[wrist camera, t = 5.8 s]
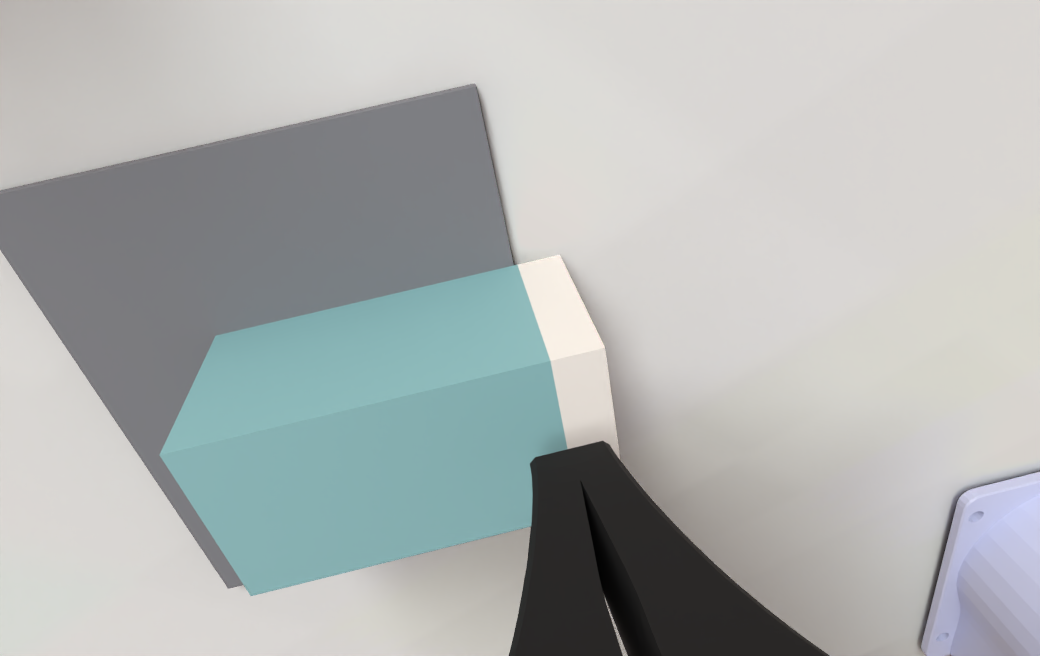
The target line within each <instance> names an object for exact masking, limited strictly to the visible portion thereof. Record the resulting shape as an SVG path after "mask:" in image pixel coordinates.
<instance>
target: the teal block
mask: <svg viewBox="0 0 1040 656" xmlns="http://www.w3.org/2000/svg"><path fill="white" fill-rule="evenodd" d="M599 441H604V442H606V443H608V444H610V446H611V448H612V449H613V451H614V452H615V454H616V455H617V457H618V458H619V459H620V453H619V446H618V438H617V431H616V424H615V416H614V409H613V402H612V394H611V387H610V380H609V373H608V365H607V358H606V351H605V346H604V344H603V342H602V340H601V338H600V336H599V334H598V332H597V330H596V328H595V326H594V324H593V322H592V320H591V318H590V316H589V314H588V312H587V310H586V308H585V305H584V303H583V301H582V299H581V297H580V295H579V293H578V291H577V289H576V287H575V285H574V283H573V281H572V279H571V277H570V275H569V273H568V271H567V269H566V266H565V264H564V262H563V260H562V258H561V256H560V255H556V256H552V257H548V258H543V259H539V260H535V261H531V262H526V263H522V264H518V265H514V266H509V267H505V268H501V269H497V270H492V271H488V272H484V273H480V274H475V275H471V276H467V277H463V278H458V279H454V280H450V281H446V282H441V283H437V284H433V285H429V286H424V287H420V288H416V289H412V290H407V291H403V292H399V293H395V294H390V295H386V296H382V297H378V298H374V299H369V300H365V301H361V302H357V303H352V304H348V305H344V306H340V307H335V308H331V309H327V310H323V311H318V312H314V313H310V314H306V315H301V316H297V317H293V318H289V319H284V320H280V321H276V322H272V323H267V324H263V325H259V326H255V327H250V328H246V329H242V330H238V331H233V332H229V333H225V334H221V335H216V336H215V338H214V340H213V342H212V344H211V347H210V349H209V351H208V353H207V355H206V357H205V359H204V361H203V364H202V366H201V368H200V370H199V372H198V374H197V376H196V378H195V381H194V383H193V385H192V387H191V389H190V391H189V393H188V395H187V397H186V400H185V402H184V404H183V406H182V408H181V410H180V412H179V414H178V417H177V419H176V421H175V423H174V425H173V427H172V429H171V431H170V434H169V436H168V438H167V440H166V442H165V444H164V446H163V448H162V451H161V453H160V457H161V458H162V460H163V461H164V463H165V464H166V466H167V468H168V469H169V471H170V472H171V474H172V475H173V477H174V478H175V480H176V481H177V483H178V485H179V486H180V488H181V489H182V491H183V492H184V494H185V495H186V497H187V498H188V500H189V501H190V503H191V505H192V506H193V508H194V509H195V511H196V512H197V514H198V515H199V517H200V518H201V520H202V521H203V523H204V525H205V526H206V528H207V529H208V531H209V532H210V534H211V535H212V537H213V538H214V540H215V542H216V543H217V545H218V546H219V548H220V549H221V551H222V552H223V554H224V555H225V557H226V558H227V560H228V562H229V563H230V565H231V566H232V568H233V569H234V571H235V572H236V574H237V575H238V577H239V578H240V580H241V582H242V583H243V585H244V586H245V588H246V589H247V591H248V592H249V594H250V595H251V596H253V595H257V594H261V593H265V592H269V591H273V590H277V589H281V588H285V587H289V586H293V585H297V584H301V583H306V582H310V581H314V580H318V579H322V578H326V577H330V576H334V575H338V574H342V573H346V572H350V571H354V570H358V569H362V568H366V567H370V566H374V565H378V564H382V563H386V562H390V561H394V560H398V559H402V558H406V557H410V556H414V555H418V554H422V553H426V552H430V551H434V550H438V549H442V548H446V547H450V546H454V545H458V544H462V543H466V542H470V541H474V540H478V539H482V538H486V537H490V536H494V535H498V534H502V533H506V532H510V531H514V530H518V529H522V528H526V527H530V526H531V523H532V498H533V492H532V474H531V468H530V463H531V461H532V460H533V459H534V458H535V457H538V456H542V455H546V454H550V453H554V452H558V451H562V450H567V449H571V448H575V447H579V446H583V445H587V444H591V443H595V442H599ZM620 461H621V460H620Z"/></svg>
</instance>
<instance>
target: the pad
mask: <svg viewBox="0 0 1040 656" xmlns="http://www.w3.org/2000/svg"><path fill="white" fill-rule="evenodd" d="M0 250H1V251H2V253H3V254H4V256H5V257H6V259H7V260H8V262H9V263H10V265H11V266H12V268H13V269H14V271H15V272H16V274H17V275H18V277H19V278H20V280H21V281H22V283H23V284H24V286H25V287H26V289H27V290H28V292H29V293H30V295H31V296H32V298H33V299H34V301H35V302H36V304H37V305H38V306H39V308H40V309H41V311H42V312H43V314H44V315H45V317H46V318H47V320H48V321H49V323H50V324H51V326H52V327H53V329H54V330H55V332H56V333H57V335H58V336H59V338H60V339H61V341H62V342H63V344H64V345H65V347H66V348H67V350H68V351H69V353H70V354H71V356H72V357H73V358H74V360H75V361H76V363H77V364H78V366H79V367H80V369H81V370H82V372H83V373H84V375H85V376H86V378H87V379H88V381H89V382H90V384H91V385H92V387H93V388H94V390H95V391H96V393H97V394H98V396H99V397H100V399H101V400H102V402H103V403H104V405H105V406H106V408H107V409H108V411H109V412H110V413H111V415H112V416H113V418H114V419H115V421H116V422H117V424H118V425H119V427H120V428H121V430H122V431H123V433H124V434H125V436H126V437H127V439H128V440H129V442H130V443H131V445H132V446H133V448H134V449H135V451H136V452H137V454H138V455H139V457H140V458H141V460H142V461H143V463H144V464H145V466H146V467H147V468H148V470H149V471H150V473H151V474H152V476H153V477H154V479H155V480H156V482H157V483H158V485H159V486H160V488H161V489H162V491H163V492H164V494H165V495H166V497H167V498H168V500H169V501H170V503H171V504H172V506H173V507H174V509H175V510H176V512H177V513H178V515H179V516H180V518H181V519H182V520H183V522H184V523H185V525H186V526H187V528H188V529H189V531H190V532H191V534H192V535H193V537H194V538H195V540H196V541H197V543H198V544H199V546H200V547H201V549H202V550H203V552H204V553H205V555H206V556H207V558H208V559H209V561H210V562H211V564H212V565H213V567H214V568H215V570H216V571H217V573H218V574H219V575H220V577H221V578H222V580H223V581H224V583H225V584H226V586H227V587H228V589H229V588H233V587H237V586H241V585H243V583H242V582H241V580H240V578H239V577H238V575H237V574H236V572H235V571H234V569H233V568H232V566H231V565H230V563H229V562H228V560H227V558H226V557H225V555H224V554H223V552H222V551H221V549H220V548H219V546H218V545H217V543H216V542H215V540H214V538H213V537H212V535H211V534H210V532H209V531H208V529H207V528H206V526H205V525H204V523H203V521H202V520H201V518H200V517H199V515H198V514H197V512H196V511H195V509H194V508H193V506H192V505H191V503H190V501H189V500H188V498H187V497H186V495H185V494H184V492H183V491H182V489H181V488H180V486H179V485H178V483H177V481H176V480H175V478H174V477H173V475H172V474H171V472H170V471H169V469H168V468H167V466H166V464H165V463H164V461H163V460H162V458H161V457H160V453H161V451H162V448H163V446H164V444H165V442H166V440H167V438H168V436H169V434H170V431H171V429H172V427H173V425H174V423H175V421H176V419H177V417H178V414H179V412H180V410H181V408H182V406H183V404H184V402H185V400H186V397H187V395H188V393H189V391H190V389H191V387H192V385H193V383H194V381H195V378H196V376H197V374H198V372H199V370H200V368H201V366H202V364H203V361H204V359H205V357H206V355H207V353H208V351H209V349H210V347H211V344H212V342H213V340H214V338H215V336H216V335H221V334H225V333H229V332H233V331H238V330H242V329H246V328H250V327H255V326H259V325H263V324H267V323H272V322H276V321H280V320H284V319H289V318H293V317H297V316H301V315H306V314H310V313H314V312H318V311H323V310H327V309H331V308H335V307H340V306H344V305H348V304H352V303H357V302H361V301H365V300H369V299H374V298H378V297H382V296H386V295H390V294H395V293H399V292H403V291H407V290H412V289H416V288H420V287H424V286H429V285H433V284H437V283H441V282H446V281H450V280H454V279H458V278H463V277H467V276H471V275H475V274H480V273H484V272H488V271H492V270H497V269H501V268H505V267H509V266H514V264H513V259H512V254H511V249H510V245H509V240H508V235H507V230H506V226H505V221H504V216H503V211H502V207H501V202H500V197H499V192H498V188H497V183H496V178H495V173H494V169H493V164H492V159H491V154H490V150H489V145H488V140H487V135H486V131H485V126H484V121H483V116H482V112H481V107H480V102H479V98H478V93H477V88H476V85H475V84H471V85H466V86H462V87H457V88H453V89H448V90H444V91H440V92H435V93H431V94H426V95H422V96H418V97H413V98H409V99H404V100H400V101H395V102H391V103H387V104H382V105H378V106H373V107H369V108H364V109H360V110H356V111H351V112H347V113H342V114H338V115H333V116H329V117H325V118H320V119H316V120H311V121H307V122H302V123H298V124H294V125H289V126H285V127H280V128H276V129H271V130H267V131H263V132H258V133H254V134H249V135H245V136H240V137H236V138H232V139H227V140H223V141H218V142H214V143H209V144H205V145H201V146H196V147H192V148H187V149H183V150H178V151H174V152H170V153H165V154H161V155H156V156H152V157H147V158H143V159H139V160H134V161H130V162H125V163H121V164H116V165H112V166H108V167H103V168H99V169H94V170H90V171H85V172H81V173H77V174H72V175H68V176H63V177H59V178H54V179H50V180H46V181H41V182H37V183H32V184H28V185H23V186H19V187H15V188H10V189H6V190H1V191H0Z"/></svg>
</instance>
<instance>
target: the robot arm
mask: <svg viewBox="0 0 1040 656" xmlns="http://www.w3.org/2000/svg"><path fill="white" fill-rule="evenodd" d="M530 468H531V474H532V492H533V498H532V523H531V533H530V542H529V552H528V561H527V568H526V574H525V580H524V586H523V591H522V597H521V603H520V608H519V614H518V619H517V623H516V628H515V632H514V637H513V641H512V645H511V649H510V653H509V656H623V655H622V652H621V649H620V646H619V643H618V640H617V637H616V633H615V630H614V627H613V624H612V621H611V618H610V615H609V612H608V609H607V606H606V602H605V598H606V601H607V603H608V606H609V608H610V611H611V614H612V616H613V619H614V621H615V624H616V626H617V629H618V632H619V634H620V637H621V639H622V642H623V644H624V647H625V649H626V652H627V654H628V656H829V655H828V654H827V653H825V652H824V651H822V650H821V649H819V648H818V647H817V646H815V645H814V644H812V643H811V642H810V641H808V640H807V639H805V638H804V637H802V636H801V635H800V634H798V633H797V632H796V631H795V630H793V629H792V628H791V627H789V626H788V625H787V624H786V623H784V622H783V621H782V620H780V619H779V618H778V617H777V616H775V615H774V614H773V613H771V612H770V611H769V610H768V609H766V608H765V607H764V606H763V605H762V604H760V603H759V602H758V601H757V600H756V599H754V598H753V597H752V596H751V595H750V594H748V593H747V592H746V591H745V590H744V589H742V588H741V587H740V586H739V585H738V584H737V583H735V582H734V581H733V580H732V579H731V578H730V577H729V576H728V575H726V574H725V573H724V572H723V571H722V570H721V569H720V568H719V567H718V566H717V565H715V564H714V563H713V562H712V561H711V560H710V559H709V558H708V557H707V556H706V555H705V554H704V553H703V552H702V551H701V550H700V549H699V548H698V547H696V546H695V545H694V544H693V543H692V542H691V541H690V540H689V539H688V538H687V537H686V536H685V535H684V534H683V533H682V532H681V530H680V529H679V528H678V527H677V526H676V525H675V524H674V523H673V522H672V521H671V520H670V519H669V518H668V517H667V516H666V514H665V513H664V512H663V511H662V510H661V509H660V508H659V507H658V506H657V505H656V504H655V503H654V501H653V500H652V499H651V498H650V497H649V496H648V495H647V493H646V492H645V491H644V490H643V489H642V487H641V486H640V485H639V484H638V483H637V481H636V480H635V479H634V478H633V477H632V475H631V474H630V473H629V471H628V470H627V469H626V468H625V466H624V465H623V464H622V462H621V461H620V459H619V458H618V457H617V455H616V454H615V452H614V451H613V449H612V448H611V446H610V444H608V443H606V442H604V441H599V442H595V443H591V444H587V445H583V446H579V447H575V448H571V449H567V450H562V451H558V452H554V453H550V454H546V455H542V456H538V457H535V458H534V459H533V460H532V461H531V463H530ZM603 593H604V594H603ZM604 596H605V598H604ZM921 649H922V651H923V652H924V654H925V655H926V656H946V655H950V654H951V655H952V656H1040V472H1036V473H1032V474H1028V475H1024V476H1020V477H1016V478H1012V479H1009V480H1005V481H1001V482H997V483H993V484H989V485H985V486H981V487H977V488H973V489H970V490H968V491H966V492H965V493H963V494H962V495H961V496H960V497H959V499H958V501H957V505H956V509H955V513H954V517H953V521H952V525H951V529H950V533H949V537H948V541H947V545H946V549H945V553H944V557H943V561H942V565H941V569H940V573H939V577H938V581H937V585H936V589H935V593H934V597H933V601H932V605H931V609H930V613H929V617H928V621H927V625H926V629H925V633H924V637H923V640H922V644H921Z"/></svg>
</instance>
